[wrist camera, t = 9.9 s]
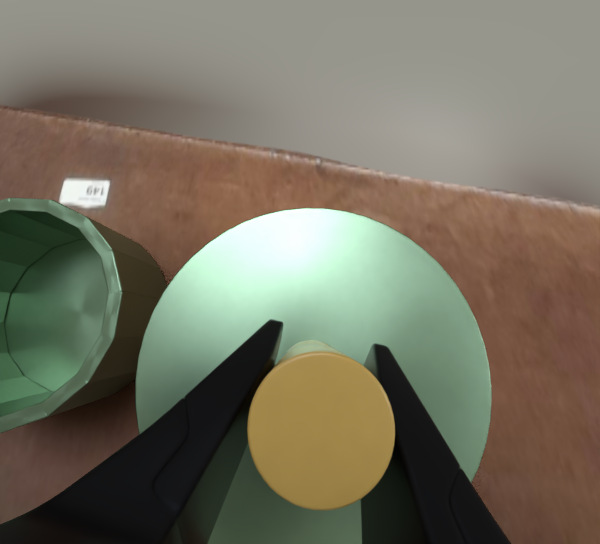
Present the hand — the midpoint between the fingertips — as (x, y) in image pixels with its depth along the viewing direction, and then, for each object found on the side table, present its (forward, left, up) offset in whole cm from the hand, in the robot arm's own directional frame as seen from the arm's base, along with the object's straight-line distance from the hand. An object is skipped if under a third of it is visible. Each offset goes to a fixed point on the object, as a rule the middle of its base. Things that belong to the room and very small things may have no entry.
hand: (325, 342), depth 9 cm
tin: (-9, +14, -13) cm, 22 cm away
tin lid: (-1, -1, -4) cm, 4 cm away
